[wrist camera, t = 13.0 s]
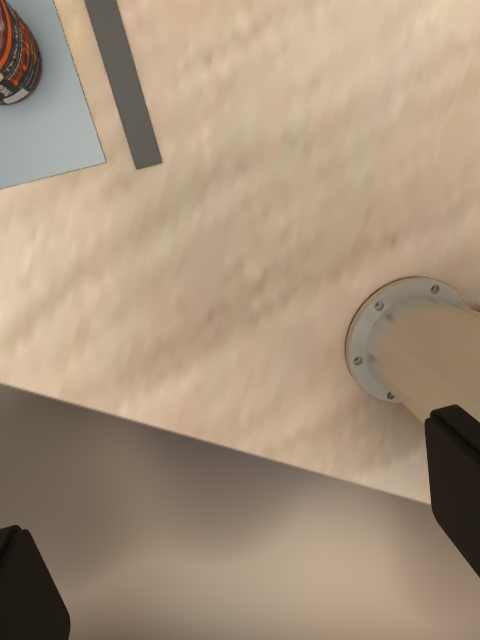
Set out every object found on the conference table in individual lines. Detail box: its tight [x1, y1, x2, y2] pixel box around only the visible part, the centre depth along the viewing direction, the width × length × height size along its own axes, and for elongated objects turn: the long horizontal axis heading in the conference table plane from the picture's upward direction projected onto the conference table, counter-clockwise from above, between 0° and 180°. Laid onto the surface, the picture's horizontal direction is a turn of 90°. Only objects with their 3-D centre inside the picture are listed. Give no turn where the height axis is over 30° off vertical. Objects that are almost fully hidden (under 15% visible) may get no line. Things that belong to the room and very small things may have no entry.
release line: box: [85, 0, 162, 169], centre depth 31 cm, size 2×18×1 cm, turn 13°
